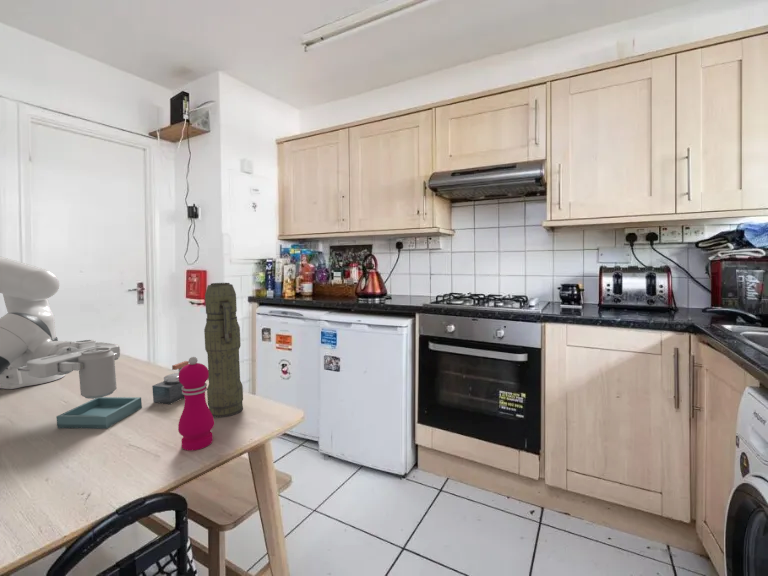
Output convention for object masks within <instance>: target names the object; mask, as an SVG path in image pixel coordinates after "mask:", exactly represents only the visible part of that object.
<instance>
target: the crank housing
mask: <svg viewBox="0 0 768 576" xmlns="http://www.w3.org/2000/svg"><path fill="white" fill-rule="evenodd" d="M188 364H189V360H184V361H182V362H178V363H175V364H173V365H172V366H171V368H172V369H171V370H172V371H174V370H175V371H176V370H178V372H174V373H170V374H167V375H165V376H164V377H163V381H161V382H158V383H156V384H153V385H152V387H151V388H152V400H153V401H152V402H153V403H155V404H162V403H163V405H164V404H165V405H172V404H174V403H176V402H178V400H179V401H180V399H181V400H182V398H183V399H185V398H184V395H183V394H182V387H183V385H182V384H181V383H180V382H179V378H178V377H179V372H180V370H181V369H182V368H183V367H184V366H186V365H188ZM171 403H172V404H171Z"/></svg>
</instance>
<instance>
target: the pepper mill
mask: <svg viewBox="0 0 768 576" xmlns="http://www.w3.org/2000/svg"><path fill="white" fill-rule="evenodd" d="M188 361H189V364H188V365H186V366H184V367H183V368H182V369H181V370H180V372H179V371H178V373H179V377H178V378H179V382H180V383H181V384H182V385H183V387H182V394H183V395H184V397H185V398H184V405H183V409H182V412H181V414H180V417H179V420H178V424H177V425H178V426H177V428H178V429H177V432H178V434H179V435H180V436H182V438H181V441H180V442H181V448H182V449H183V450H184V451H190V452H193V451H198V450H202V449H204V448H207V447H208V446H210V445H211V444H212V443H213V441H214V440H213V439H214V437H213V432H212V430H213V428H214V426H215V420H214V418H215V417H213V415H212V413H211V411H210V410H209V406H208V402H207V400H206V392H207V388H208V384H207V380H209V372H208V366H206V365H205V364H202V363H200V362H198V358H197V357H196V356H191V357H190V358H188Z"/></svg>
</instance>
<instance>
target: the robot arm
mask: <svg viewBox="0 0 768 576" xmlns="http://www.w3.org/2000/svg"><path fill="white" fill-rule="evenodd" d="M59 289H60V281H59V279H58V277H57V276H56V275H55V274H54V273H52V272H51V271H49V270H47V269H45V268H42V267H37V266H35V265H31V264H28V263H25V262H21V261H17V260H13V259H12V258H7V257H3V256H0V294H2V296H3V300H4V304H5V308H6V311H7V313H5V314H4V315H3V316H1V317H0V389H5V390H13V389H19V388H23V387H29V386H36V385H41V384H46V383H50V382H53V381H57V380H60V379H61V378H63V377H65V376H66V375H68V374H70V373H72V372H73V371H75V372H76V371H77V372H79V370H82V369H84V363H83V362H78V358H79V357H80V356H81V352H82V351H84V350H88V349H93V348H102V347H107V348H111V350H110V351H112V352H113V353H114V359H115V361H117V360H119V358H120V356H121V349H120V345H118V344H115V343H111V342H104V341H103V342H99V341H96V340H95V339H86V340H77V341H71V340H70V341H69V340H64V341H63V340H59V339H58V337H57V336H56V321H55V315H54V313H53V311H52V309H51V306H50V303H49V300H48V299H49V298H51V297H53V296H55V294H56V293H57V292H58V291H59Z"/></svg>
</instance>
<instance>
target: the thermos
mask: <svg viewBox="0 0 768 576" xmlns="http://www.w3.org/2000/svg"><path fill="white" fill-rule="evenodd" d="M236 293H237V292H236V290H235V288H234V285H233V284H230V282H213V283H212V282H211V283H210V284H208V285H207V287H206V291H205V293H204V294H205V295H204V300H205V314H206V323H205V327H204V329H203V330H204V331H203V332H204V348H205V349H204V350H205V351H206V354H207V369H208V372H209V377H208V384H207V390H206V392H207V393H206V395H207V406H208V408H209V410H210V411H211V413H212V415H213V418H227V417H232V416H235V415H237V414H239V413H241V412H242V411H243V409H244V407H243V406H244V405H243V401H244V391H243V389H244V387H243V384H242V382H241V371H240V370H241V366H240V365H241V364H240V348H241V327H240V324H239V322H238V316H237V311H238V309H237V294H236Z"/></svg>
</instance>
